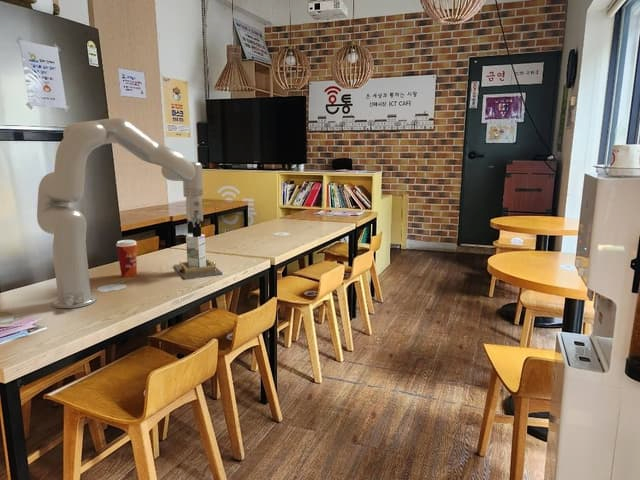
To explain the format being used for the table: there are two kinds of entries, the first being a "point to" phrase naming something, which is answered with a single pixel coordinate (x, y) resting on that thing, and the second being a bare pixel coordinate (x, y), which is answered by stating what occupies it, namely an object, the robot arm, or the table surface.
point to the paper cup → (127, 257)
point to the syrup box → (196, 251)
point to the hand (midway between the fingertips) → (194, 234)
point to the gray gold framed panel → (197, 270)
